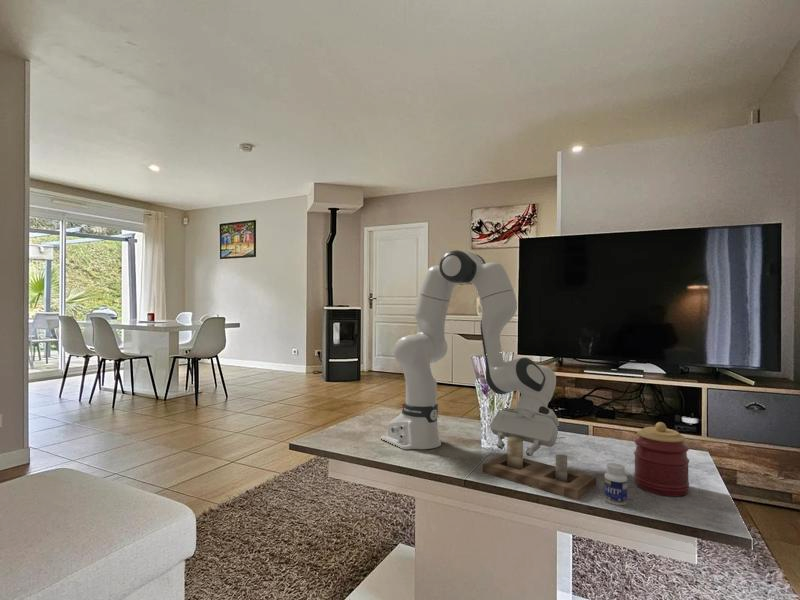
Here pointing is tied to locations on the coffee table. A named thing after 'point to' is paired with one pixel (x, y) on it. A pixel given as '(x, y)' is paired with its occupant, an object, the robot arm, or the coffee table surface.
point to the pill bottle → (615, 484)
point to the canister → (661, 461)
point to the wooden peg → (515, 452)
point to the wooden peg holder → (544, 476)
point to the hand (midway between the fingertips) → (513, 451)
